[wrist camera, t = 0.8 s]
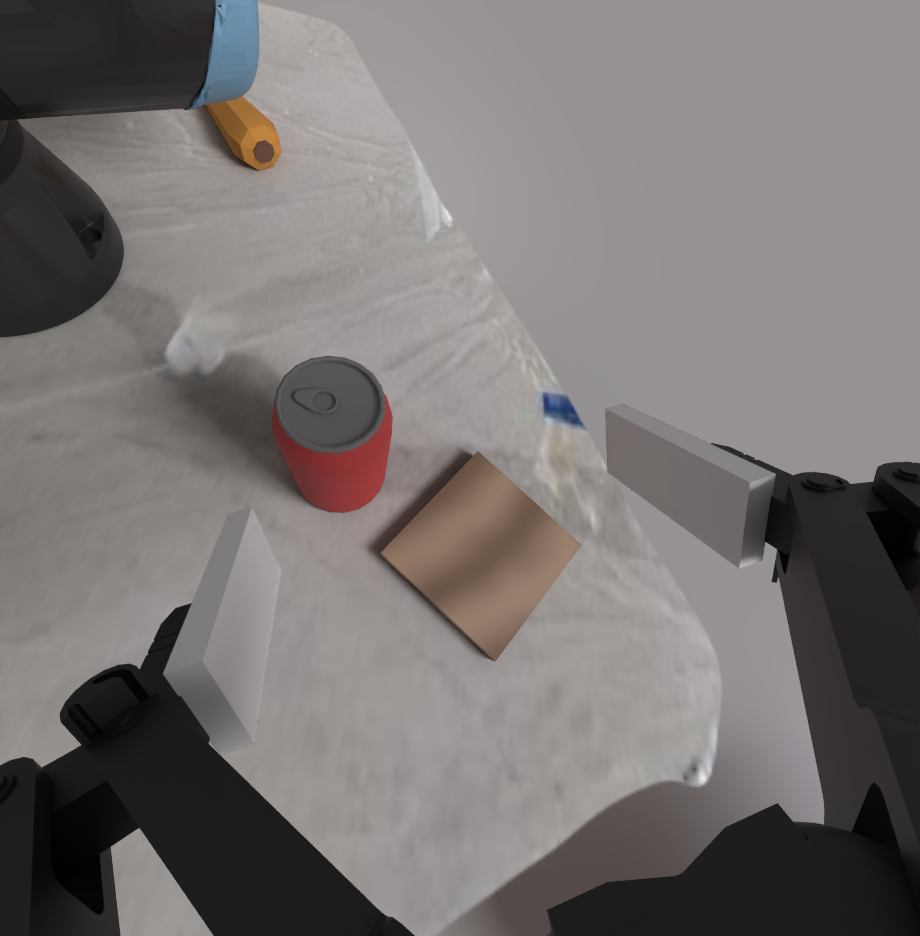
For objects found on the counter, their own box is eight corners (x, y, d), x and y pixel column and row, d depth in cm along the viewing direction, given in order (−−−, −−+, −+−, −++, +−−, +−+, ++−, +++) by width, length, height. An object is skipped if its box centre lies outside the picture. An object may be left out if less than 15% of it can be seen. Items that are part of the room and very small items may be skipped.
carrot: (283, 181, 43) (292, 130, 40) (236, 174, 40) (242, 119, 37) (190, 66, 48) (191, 13, 45) (141, 53, 45) (139, -6, 42)
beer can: (309, 424, 35) (285, 333, 24) (392, 443, 36) (406, 363, 25) (284, 504, 33) (245, 445, 22) (374, 522, 34) (380, 474, 22)
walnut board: (379, 554, 33) (380, 552, 32) (474, 456, 37) (477, 451, 36) (491, 659, 32) (495, 661, 31) (574, 547, 36) (581, 544, 35)
